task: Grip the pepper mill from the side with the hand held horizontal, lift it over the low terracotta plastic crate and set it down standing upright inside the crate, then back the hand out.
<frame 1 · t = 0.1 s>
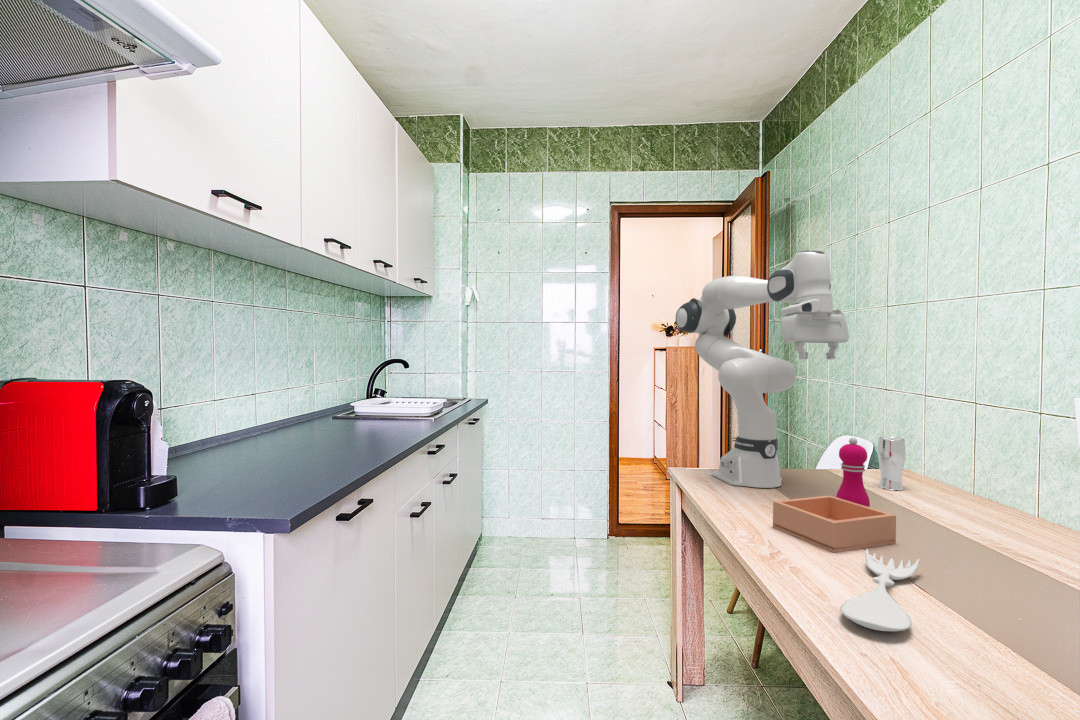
hand: (817, 359, 147), 39 cm above the table, tool pointing down, fingers open, 8 cm apart
crate: (831, 534, 121), on the table
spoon: (882, 601, 90), on the table
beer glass: (891, 489, 163), on the table
pepper mill: (852, 520, 132), on the table
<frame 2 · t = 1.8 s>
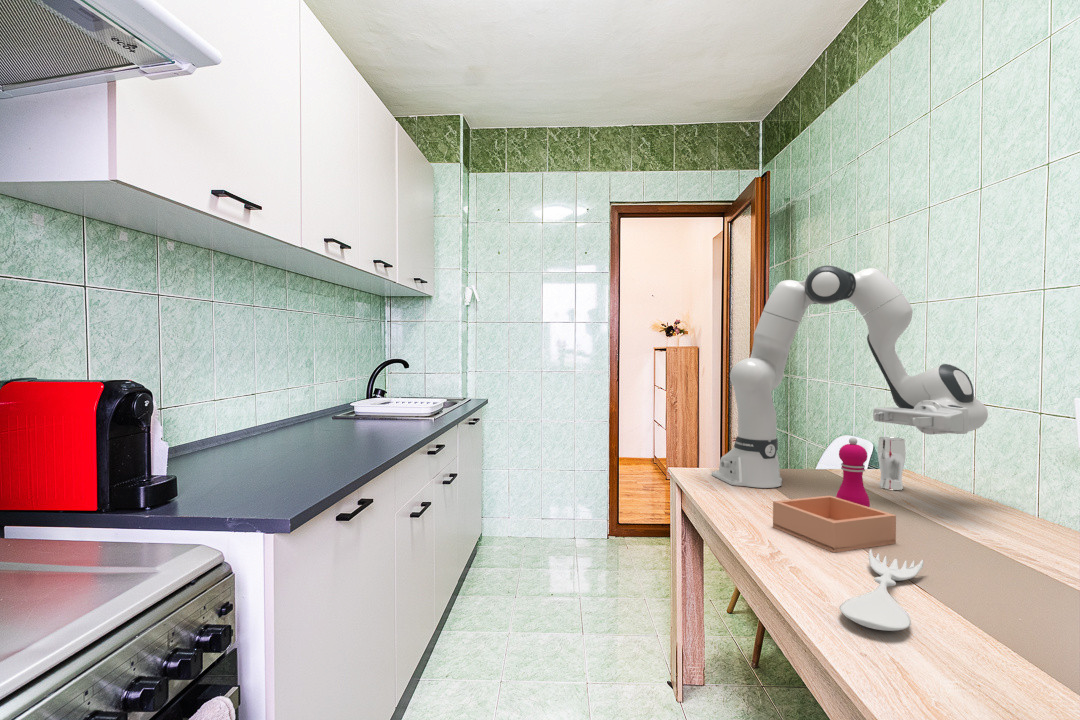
hand: (893, 419, 136), 24 cm above the table, tool horizontal, fingers open, 8 cm apart
nothing on the table moved.
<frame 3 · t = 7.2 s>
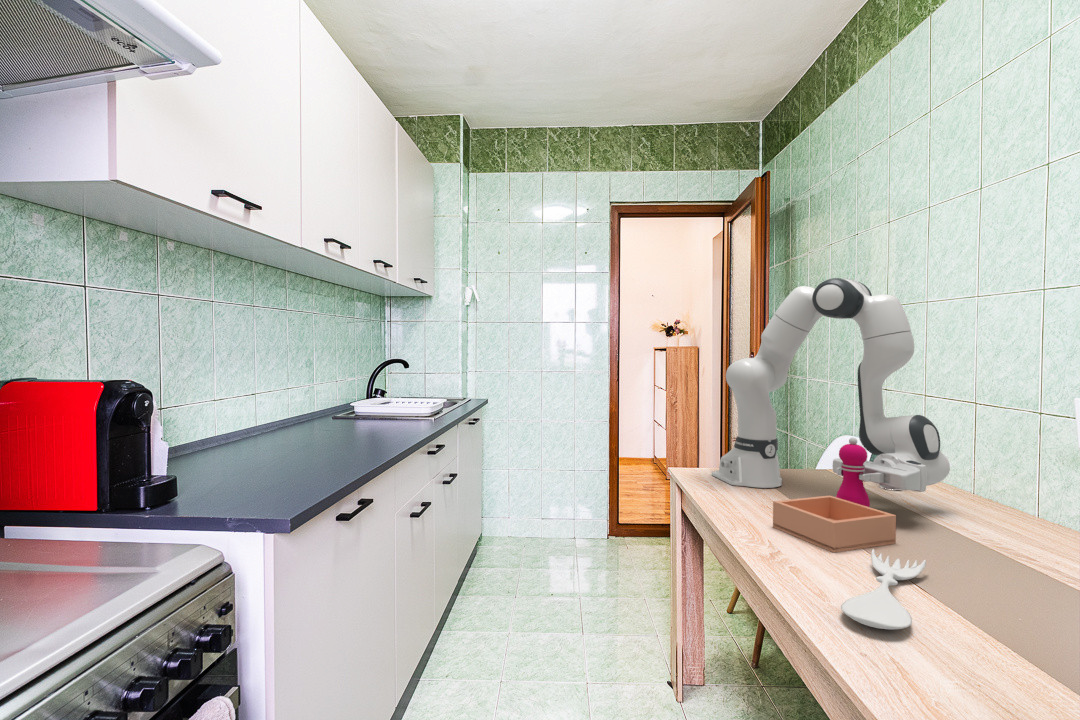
hand: (850, 474, 132), 11 cm above the table, tool horizontal, fingers closed on pepper mill, 5 cm apart
pepper mill: (852, 520, 132), on the table, touching gripper
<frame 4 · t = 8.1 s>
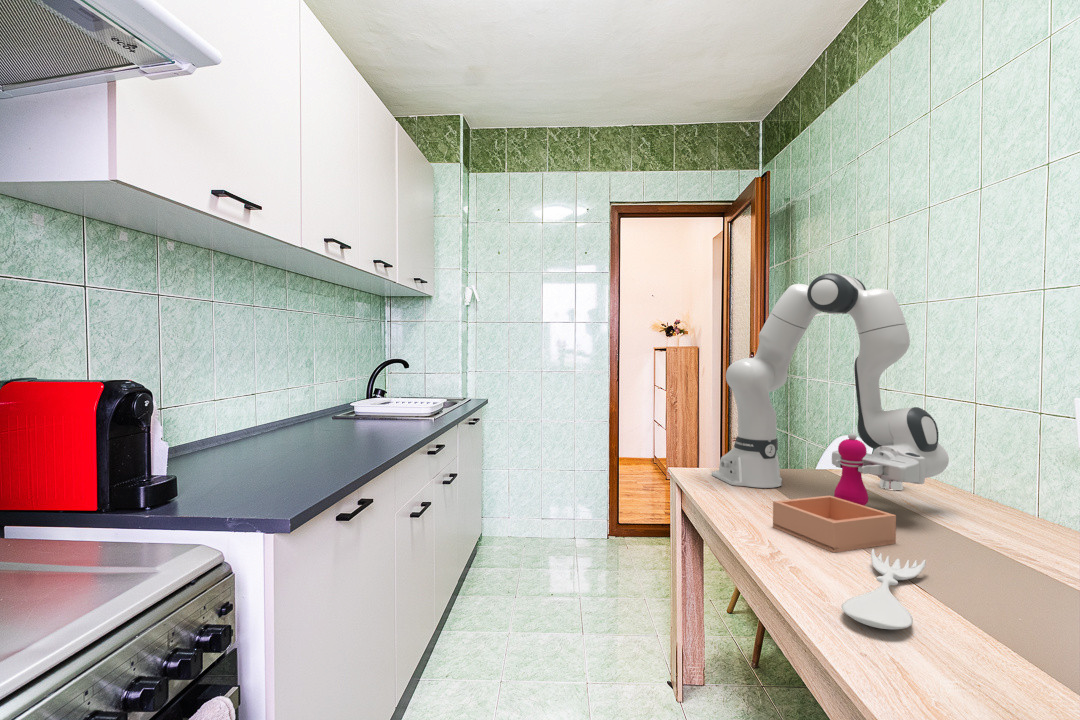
hand: (849, 466, 132), 13 cm above the table, tool horizontal, fingers closed on pepper mill, 5 cm apart
pepper mill: (850, 515, 132), point 1 cm above the table, touching gripper
everything else where it was.
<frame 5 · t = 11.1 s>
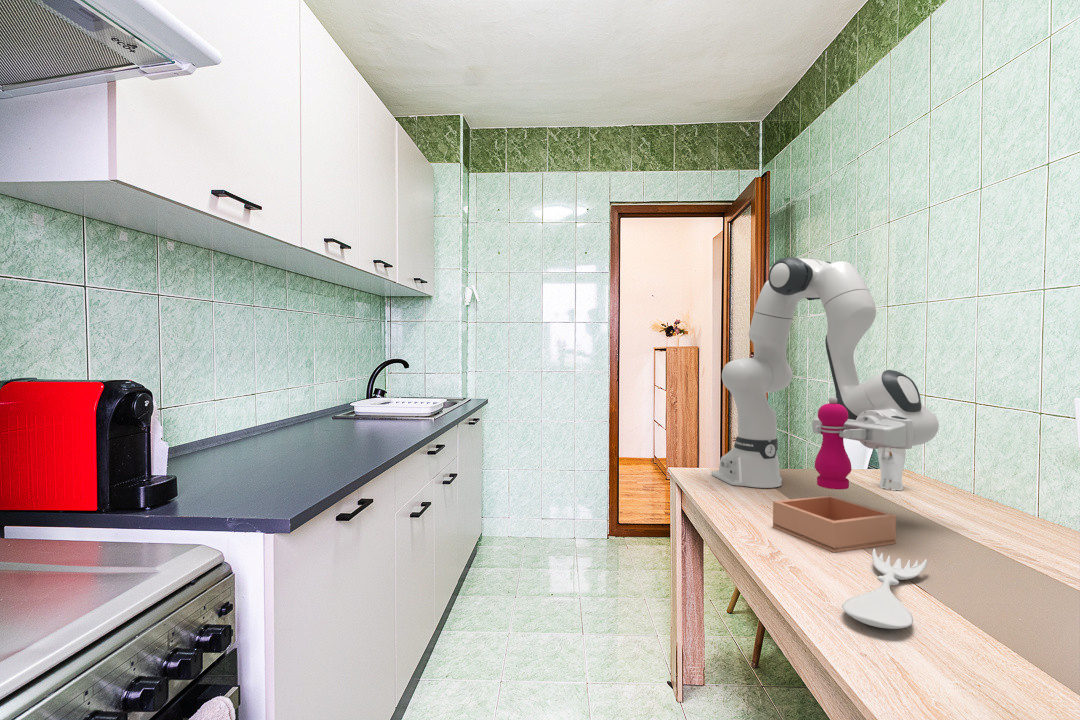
hand: (829, 431, 120), 23 cm above the table, tool horizontal, fingers closed on pepper mill, 5 cm apart
pepper mill: (832, 487, 121), point 11 cm above the table, touching gripper
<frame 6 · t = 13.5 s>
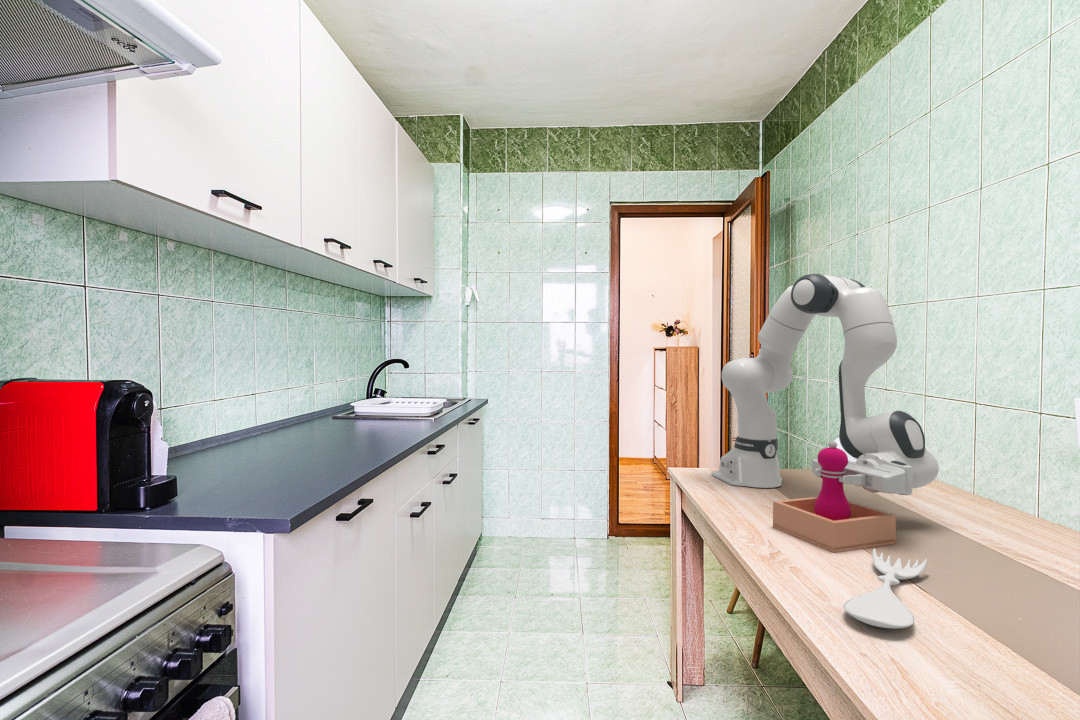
hand: (829, 476, 120), 13 cm above the table, tool horizontal, fingers closed on pepper mill, 5 cm apart
pepper mill: (832, 531, 121), point 1 cm above the table, touching crate, gripper
when the fingers open (13 cm above the table, at t = 14.0 s): pepper mill stays where it is, resting on crate.
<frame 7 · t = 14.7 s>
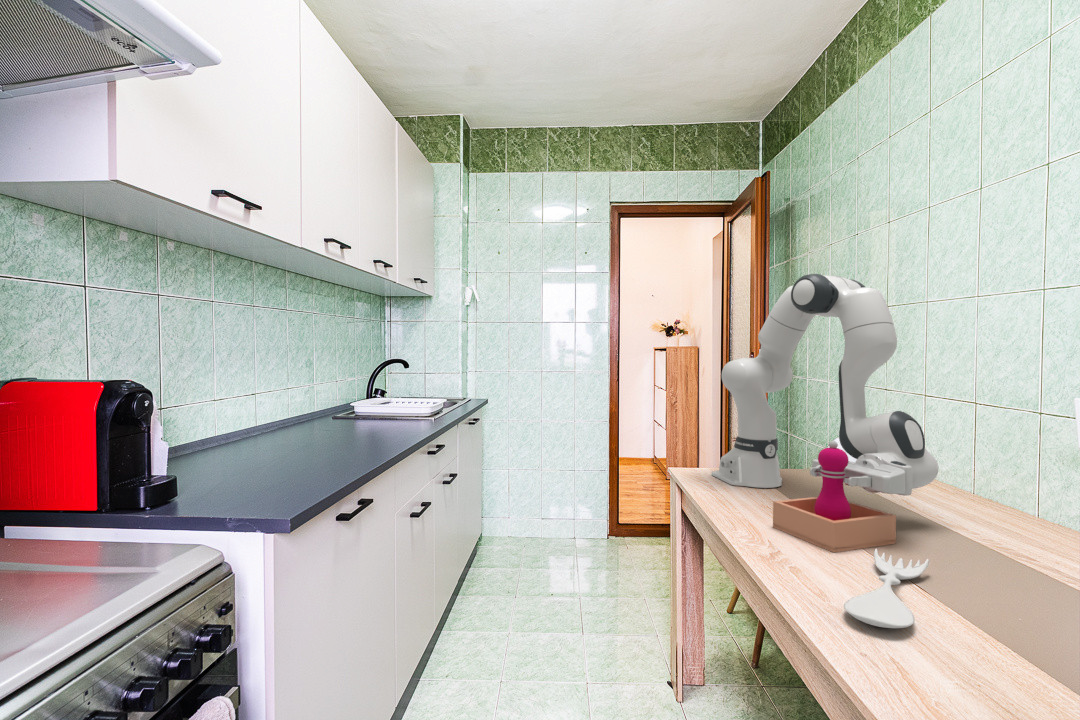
hand: (829, 476, 120), 13 cm above the table, tool horizontal, fingers open, 8 cm apart
pepper mill: (832, 531, 121), point 1 cm above the table, touching crate
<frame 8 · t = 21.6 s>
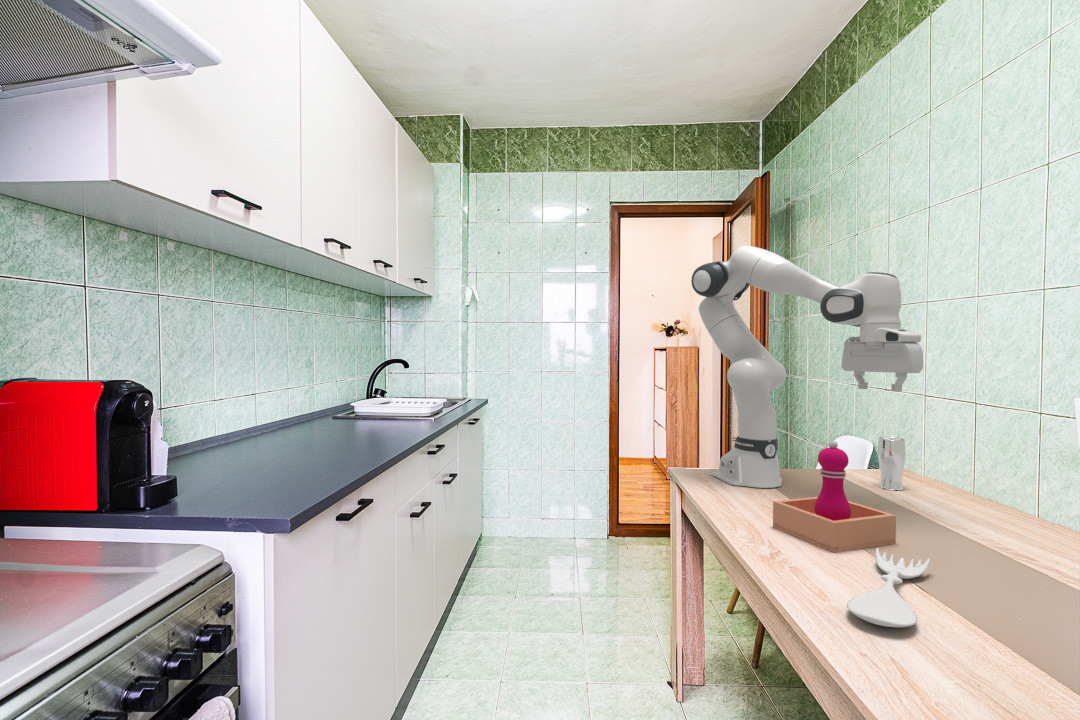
hand: (879, 390, 138), 31 cm above the table, tool pointing down, fingers open, 8 cm apart
at the end: pepper mill inside the target area on the crate (0.1 cm from its centre), point 0.8 cm above the crate's base; pepper mill tilted 0°; the gripper is holding nothing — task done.
